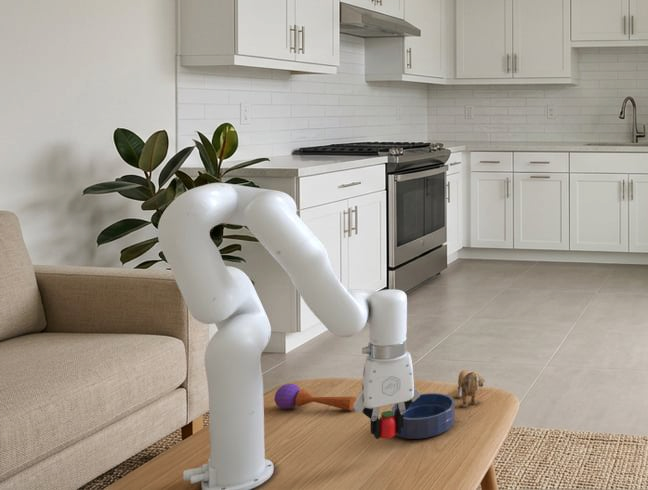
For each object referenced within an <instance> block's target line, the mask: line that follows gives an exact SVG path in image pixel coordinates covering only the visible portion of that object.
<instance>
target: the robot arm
mask: <svg viewBox="0 0 648 490" xmlns="http://www.w3.org/2000/svg"><path fill="white" fill-rule="evenodd" d="M297 213H298V208H297V203H296V202H295V199H294V198H293V197H292V196H290V195H289V194H288V193H286V192H284V191H281V190H275V189H269V188H268V189H267V188H261V187H253V186H247V185H241V184H233V183H226V182H211V183H207V184H203V185H200V186H197V187H193V188H190V189H188V190H187V191H184V192H183V193H181V194H180V195H179V196H177V197H176V198H174V199H173V200H172V201H171V203H169V205H168V206H167V207H166V208H165V210H164V211H163V213H162V214H161V216H160V218H159V222H158V225H157V239H158V243H159V246H160V250H161V251H162V253H163V256H164V257H165V260H166V262H167V264H168V266H169V268H170V271H171V273H172V275H173V278H174V281H175V282H176V285H177V287H178V289H179V291H180V293H181V296H182V298H183V300H184V303H185V304H186V307H187V309H188V311H189V313H190V315H191V316H192V318H193V319H195V321H197V322H198V323H201V324H204V325H212V324H213V325H215V327H216V328H217V331H216V332H215V333H214V334H213V335H212V337H211V338H210V339H209V341H208V343H207V346H206V348H205V352H204V360H203V361H204V369H205V376H206V382H207V393H208V395H207V396H208V417H209V419H208V423H209V427H208V428H209V457H208V459H207V460H208V461H207V463H203V464H202V466H200V467H195V468H189V469H186V470H183V471H182V472H183V473H182V474H183V482H187V481H190V484H196V483H199V482H201V490H252V489H254V488H257V487H259V486H260V485H262V484H263V483H265V482H266V481H268V480H269V479H270V478H271V477H272V475H273V473H274V470H275V469H274V466H275V465H274V463H273V462H272V461H271V460H269V459H267V458H266V456H265V455H266V454H265V453H266V451H265V446H266V445H265V408H264V407H265V406H264V405H265V404H264V403H265V401H264V399H265V398H264V380H263V373H262V372H263V371H262V364H261V363H262V361H261V359H262V358H261V357H262V354H263V351H264V350H265V348H266V347H267V345H268V344H269V341H270V339H271V336H272V326H271V323H270V320H269V317H268V315H267V312H266V311H265V309H264V306H263V304H262V302H261V299H260V298H259V295H258V292H257V291H256V288H255V286H254V284H253V282H252V280H251V278H250V277H249V276H248V275H247V274H246V273H245V272H244V271H243V270H242V269H240V268H238V267H235V266H229V265H227V266H226V264H225V262H224V260H223V257H222V255H221V252H220V250H219V248H218V246H217V245H216V244H215V242H214V240H213V239H212V237H211V235H210V234H211V233H210V232H211V230H212V229H213V228H214V227H216V226H218V225H220V224H226V225H227V224H228V225H234V226H242V227H243V226H244V227H246V228H247V229H248V231H249V232H250V233H251V234H252V235H253V236H254V238H256V240H257V241H258V242H259V243H260V244H261V245H262V246H263V247H264V249H265V250H266V251H267V252H268V253H269V254H270V255H271V256H272V258H273V259H274V260H275V261H276V262H277V263H278V265H280V267H281V268H282V269H283V270H284V272H285V273H286V274H287V275H288V277H289V279H290V281H291V283H292V284H293V286H294V287H295V289H296V290H297V292H298V294H299V295H300V297H301V298H302V300H303V302H304V303H305V304H306V306H307V307H308V309H309V310H310V311H311V312H312V314H313V315H314V316H315V317H316V318H317V319H318V321H320V322H321V323H322V325H323V326H324V327H325V328H326V329H327V330H328V331H329V332H330V333H332V334H334V335H335V336H338V337H340V338H350V337H354V336H356V335H357V334H359V333H360V332H361V331H362V330H363V329H364V327H365V326H366V324H367V323H368V324H369V338H368V339H369V341H368V344H367V346H364V347H362V348H361V353H362V355H367V356H366V358H365V361H364V365H363V372H362V378H361V379H362V381H361V391H360V393H359V395H358V397H357V398H356V402H355V403H354V405H353V408H354V409H353V410H354V411H356V412H359V413H361V414H363V415H364V416H365V417H367V418H369V419H370V422H369V423H370V427H369V429H370V431H369V432H370V435H373V436H374V438H375V440H378V439H381V438H380V420H379V419H380V418H379V413H380V412H379V411H380V408H383V407H388V406H394V405H395V404H396V406H397V409H396V410H395V412H394V417H395V418H396V432H397V434H400V433H401V428H402V427H403V420H404V414H405V412H406V410H407V409H408V407H409V406H410V405H411V404H412V402H414V401H415V400H416V399H417V398H419V397H420V394H421V393H420V391H418V389H417V388H416V386H415V384H414V383H415V381H414V380H415V379H414V368H413V367H414V366H413V361H412V359H413V358H412V356H411V352H409V350H407V343H408V342H407V340H408V339H407V338H408V337H407V334H408V332H407V330H408V329H407V328H408V327H407V326H408V296H407V293H406V292H405V291H403V290H401V289H395V288H393V289H392V288H391V289H382V290H367V289H357V288H356V289H355V288H353V289H352V288H351V289H347V288H346V287H345V286H344V285H343V284H342V283H341V281H340V280H339V278H338V276H337V275H336V273H335V271H334V269H333V267H332V265H331V262H330V258H329V254H328V251H327V249H326V247H325V246H324V244H323V243H322V242H321V240H319V238H318V237H317V236H316V235H315V234H314V233H313V231H312V230H311V229H310V228H309V226H308V225H306V223H305V222H304V221H303V220H302V219H301V217H300V216H299V215H298V214H297Z"/></svg>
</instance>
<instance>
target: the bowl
mask: <svg viewBox="0 0 648 490" xmlns="http://www.w3.org/2000/svg"><path fill="white" fill-rule="evenodd" d="M455 405H456V404H455V399H454V398H453V397H452V396H450V395H448V394H444V393H440V392H439V393H438V392H437V393H435V392H433V393H432V392H428V393H420V397H419V398H417V399H416V400H415V401H414V402H412V404H411V405H410V406H409V407H408V409H407V410H406V412H405V414H404V420H403V427H402V428H401V433H400V434H397V432H396V435H395V436H397V437H399V438H403V439H414V440H415V439H417V440H418V439H427V438H431V437H435V436H438V435H440V434H443V433H445V432H447V431H448V430H450V429H451V428H452V427H453V425H454V424H455V423H456V415H455V413H456V412H455V411H456V410H455ZM396 409H397V406H396V404H393V405H392V406H391V411H392V412H393V416H394V412H395V410H396Z"/></svg>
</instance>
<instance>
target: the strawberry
mask: <svg viewBox="0 0 648 490" xmlns="http://www.w3.org/2000/svg"><path fill="white" fill-rule="evenodd" d="M379 420H380V438H379V439H390V438H393V437H395V436H397V435H396V418H395V417H394V416H393V412H392V410H385V411H382V412H381V416H380V418H379Z"/></svg>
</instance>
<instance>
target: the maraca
mask: <svg viewBox="0 0 648 490" xmlns="http://www.w3.org/2000/svg"><path fill="white" fill-rule="evenodd" d="M356 400H357V398H356V396H314V395H312V394H311V393H310V392H308V391H307V390H306V389H305V388H300V387H299V386H298V385H297V384H295V383H285V384H283V385H281V386H280V387H279V388H278V389H277V390H276V391H275V394H274V402H275V405H276V406H277V407H278V408H280V409H281V410H290V409H293V408H295V407H297V408H298V407H299V408H300V407H302V406H305V405H307V404H311V403H317V404H322V405H326V406H330V407H334V408H337V409H342V410H346V411H351V412H353V410H354V408H353V405H354V403H355V402H356Z"/></svg>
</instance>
